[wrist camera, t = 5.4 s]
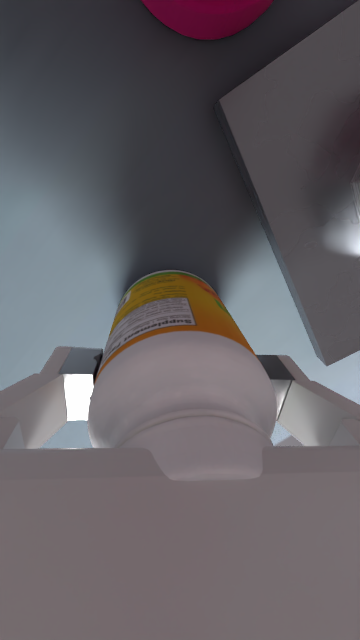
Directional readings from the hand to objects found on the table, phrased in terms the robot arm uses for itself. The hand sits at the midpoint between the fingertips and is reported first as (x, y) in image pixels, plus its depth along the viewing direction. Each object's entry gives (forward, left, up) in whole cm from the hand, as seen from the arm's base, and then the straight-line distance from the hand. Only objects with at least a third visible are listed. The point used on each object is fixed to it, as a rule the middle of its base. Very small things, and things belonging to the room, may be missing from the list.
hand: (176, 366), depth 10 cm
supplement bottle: (0, 0, -4) cm, 4 cm away
